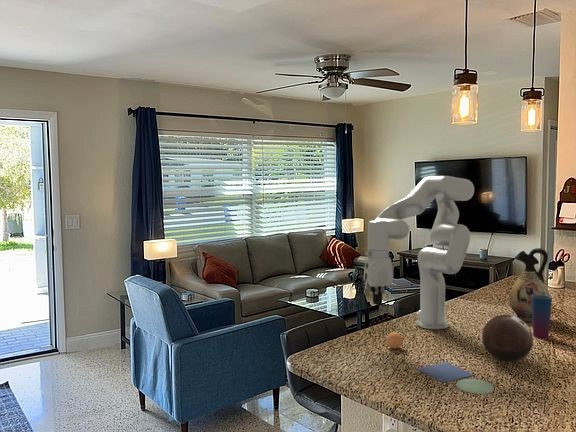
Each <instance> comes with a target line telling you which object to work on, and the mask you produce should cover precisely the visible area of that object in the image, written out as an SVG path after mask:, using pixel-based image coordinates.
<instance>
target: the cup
mask: <svg viewBox="0 0 576 432" xmlns="http://www.w3.org/2000/svg"><path fill="white" fill-rule="evenodd" d="M531 300H532V320H533V322H532V336H533V338H537V339H549V335H550V334H549V333H550V323H551V310H552V301H553V297H552V296H551V295H550V296H548V295H539V294H536V295H532V296H531Z"/></svg>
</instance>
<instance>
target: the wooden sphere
mask: <svg viewBox="0 0 576 432" xmlns="http://www.w3.org/2000/svg"><path fill="white" fill-rule="evenodd" d="M481 339H482V343H483V346H484V349H485V350H486V351H487V353H488V354H489V355H490V356H491V357H493V358H494V359H495V360H498V361H500V362H502V363H512V364H513V363H517V362H519V361H520V362H521V361H522V360H524V359H525V358H526V357H528V355H529V354H530V352H531V351H532V349H533V346H534V345H533V344H534V336H533V331H531V328H530V327H529V325H528V324H527V323H526V321H522V320H521V319H519V318H518V317H517V316H516V315H515V316H514V315H513V314H512V315H510V314H499V315H495V316H494V317H492V318H490V319H489V320H488V321H487V322H486V324H485V325H484V327H483V330H482V335H481Z"/></svg>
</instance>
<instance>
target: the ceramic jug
mask: <svg viewBox="0 0 576 432" xmlns="http://www.w3.org/2000/svg"><path fill="white" fill-rule="evenodd" d="M535 254H540V255H542V256H543V258H542V263H541V265H540V267H539V268H538V271H537V269H536V267H535V265H539V263H540V261H539V259H537V257H535V256H534V255H535ZM548 259H549V256H548V252H547V251H546V250H545V249H544V248H540V247H539V248H537V247H536V248H533V249H532V250H531V251H529V253H526V252H525V250H522V251H520V252H519V253H518V254H516V255H515V256H514V260H515V261H518V262H521V263H523V264H524V265H525V269H524V270H523V272H522V273H521V274H520V275H519V277H518V278H517V279H516V281H514V284H513V285H512V287H511V290H510V293H509V298H508V299H509V306H510V308H511V310H512V311H513V312H514V313H515V316H516V317H518V318H519V319H521V320H522V321H524V322H528V323H529V322H530V323H533V320H532V300H531V296H532V295H536V294H539V295H548V296H551V295H550V291H549V289H548V287H547V285H546V284H545V279H544V275H543V272H544V271H545V269H546V266H547V263H548Z"/></svg>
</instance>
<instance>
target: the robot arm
mask: <svg viewBox="0 0 576 432" xmlns="http://www.w3.org/2000/svg"><path fill="white" fill-rule="evenodd" d="M474 193H475V186H474V184H473V182H472V181H471V180H470V179H467V178H463V177H462V178H461V177H455V176H451V175H429V176H425V177H423V178H422V179H421V180H420V181H419V182H418V183H417V185H416V186H415V187H413V189H412V190H411V191H410V192H409V193H408V195H406V197H404V198H403V199H399V200H398V201H396V202H395V203H393V204H391V205H389V206H387V207H385V208H384V210H382V211H381V213H379V214H378V216H377V217H376V218H375V219H374V220H373V219H372V220H369V221H368V222H367V251H365V252H364V255H365V256H367V257H366V258H365V263H364V269H363V283H364V290H365V289H366V290H368V291H371V293H372V302H373V304H374V305H376V306H379V305H382V304H383V294H384V292H385V290H386V289H388V288H391V285H393V281H394V278H393V277H394V273H393V264H392V259H391V257H389V253H390V251H389V247H390V246H389V241H390V240H398V241H399V240H403V239H405V238H406V237H407V236H408V235H409V232H410V226H409V224H408V222H407V221H405V220H404V219H407V218H411V217H412V218H413V217H416V216H418V215H421V214H422V213H424V211H425V210H426V209H427V208H428V206H430V204H431V203H432V202H433V200H435V201H436V206H437V214H436V217H435V219H434V222H433V225H432V228H431V230H430V234H429V241H430V242H431V244H432V245H435V246H439V247H435V246H426V247H423V248H422V249H421V250H420V251H419V252H418V254H417V265H418V269H419V270H418V271H419V279H420V283H419V284H420V285H419V286H420V287H419V289H420V290H419V292H420V293H419V294H420V299H419V301H420V305H419V306H420V309H419V310H418V311H417V312H415V316H417V317H418V319H417V320H416V321H415V322H416V325H417V327H419V328H423V329H427V330H443V329H447V328H449V327H450V323H449V321H447V320H446V282H445V277H444V275H443V274H445V275H446V274H448V275H454V274H455V275H456V274H457V273H458V272H459V271H460V270H461V268H462V266H463V263H464V260H465V257H466V254H467V251H468V249H469V246H470V241H471V233H470V229H469V228H468V227H467V226H466V225H464V224H461V223H458V221H459V217H460V211H459V208H458V206H457V204H456V203H455V201H457V202H458V201H461V202H463V201H464V202H465V201H469V200H470V199H472V197H473V196H474Z"/></svg>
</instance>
